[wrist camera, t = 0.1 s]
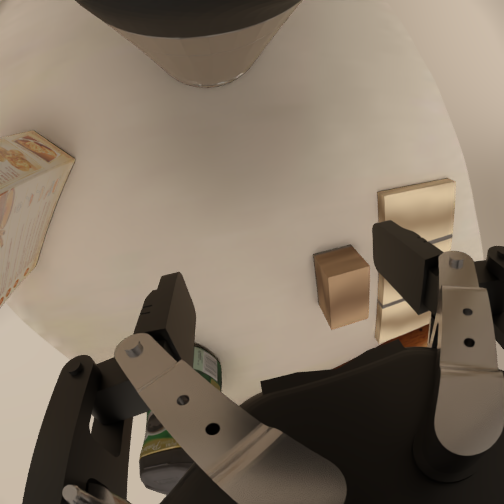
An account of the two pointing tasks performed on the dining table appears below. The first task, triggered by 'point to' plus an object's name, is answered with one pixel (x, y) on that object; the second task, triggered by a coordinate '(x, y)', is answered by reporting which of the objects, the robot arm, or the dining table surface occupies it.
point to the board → (427, 226)
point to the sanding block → (342, 285)
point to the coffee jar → (164, 445)
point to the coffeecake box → (27, 202)
